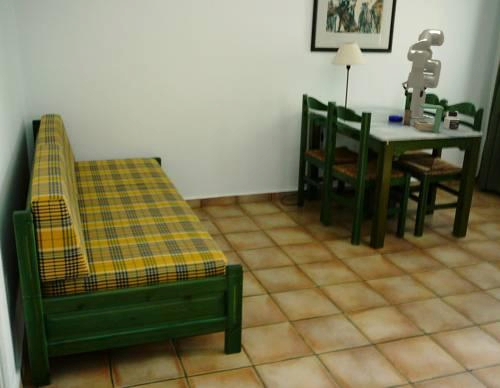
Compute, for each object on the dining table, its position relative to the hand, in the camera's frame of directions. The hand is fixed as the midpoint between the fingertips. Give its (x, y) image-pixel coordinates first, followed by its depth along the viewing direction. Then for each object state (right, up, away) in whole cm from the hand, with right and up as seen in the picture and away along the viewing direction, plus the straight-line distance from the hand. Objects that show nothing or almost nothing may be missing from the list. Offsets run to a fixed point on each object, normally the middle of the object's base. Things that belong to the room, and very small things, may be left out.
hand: (413, 96), depth 349 cm
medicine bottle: (+25, -21, +2) cm, 33 cm away
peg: (-2, -18, +8) cm, 19 cm away
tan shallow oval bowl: (+6, -21, -1) cm, 22 cm away
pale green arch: (+7, -24, -9) cm, 26 cm away
